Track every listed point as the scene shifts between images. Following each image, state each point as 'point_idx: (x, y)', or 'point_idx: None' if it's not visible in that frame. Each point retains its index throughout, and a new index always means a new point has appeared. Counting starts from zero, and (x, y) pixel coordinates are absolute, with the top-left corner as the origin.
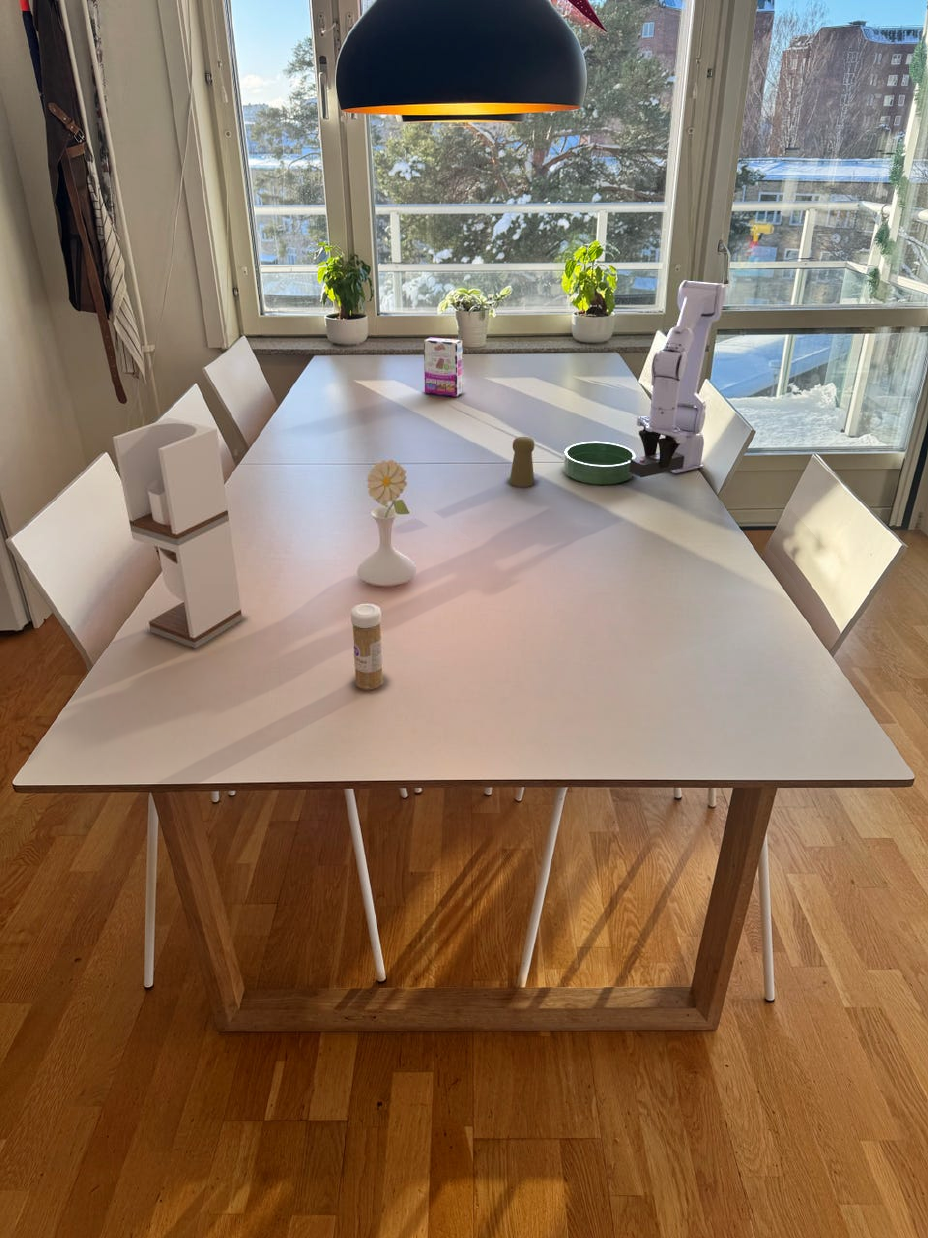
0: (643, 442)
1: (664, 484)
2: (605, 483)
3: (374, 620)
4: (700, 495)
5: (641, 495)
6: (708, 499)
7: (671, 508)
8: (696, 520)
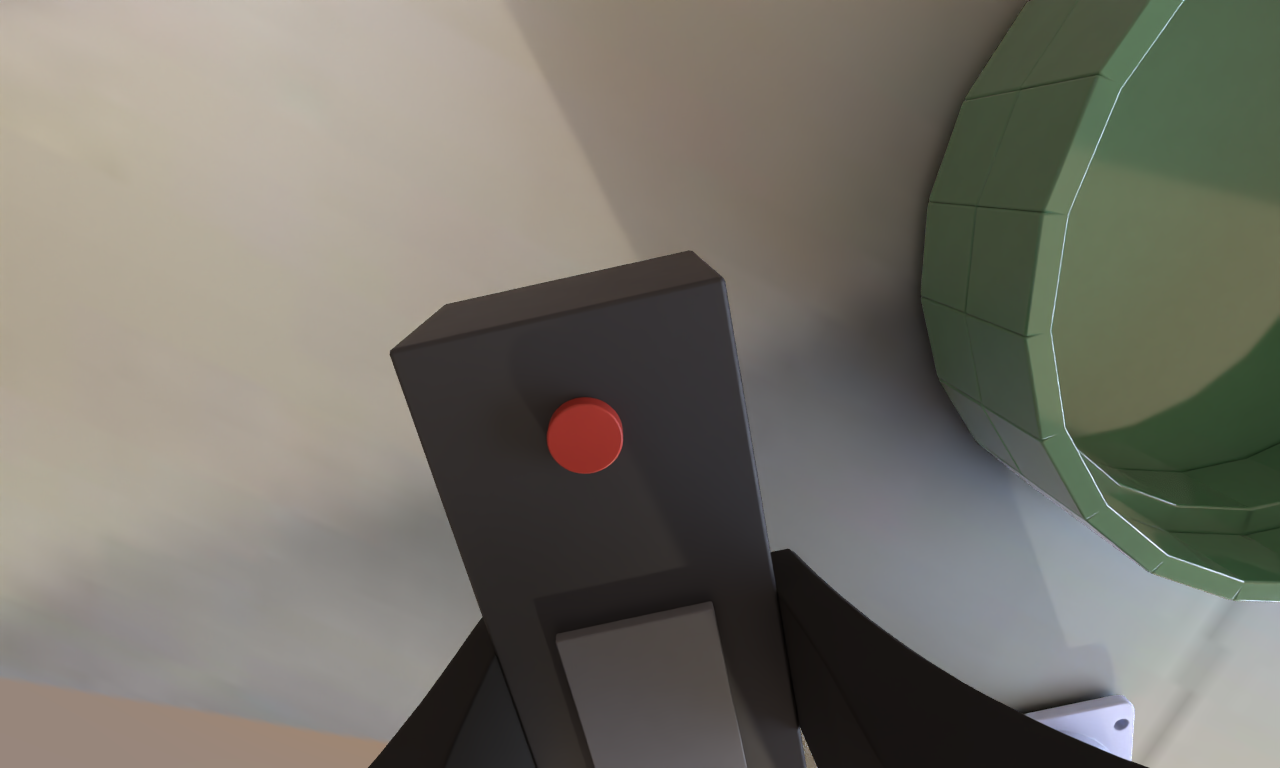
0: (943, 706)
1: None
2: (950, 142)
3: None
4: None
5: None
6: None
7: (329, 459)
8: (74, 528)
